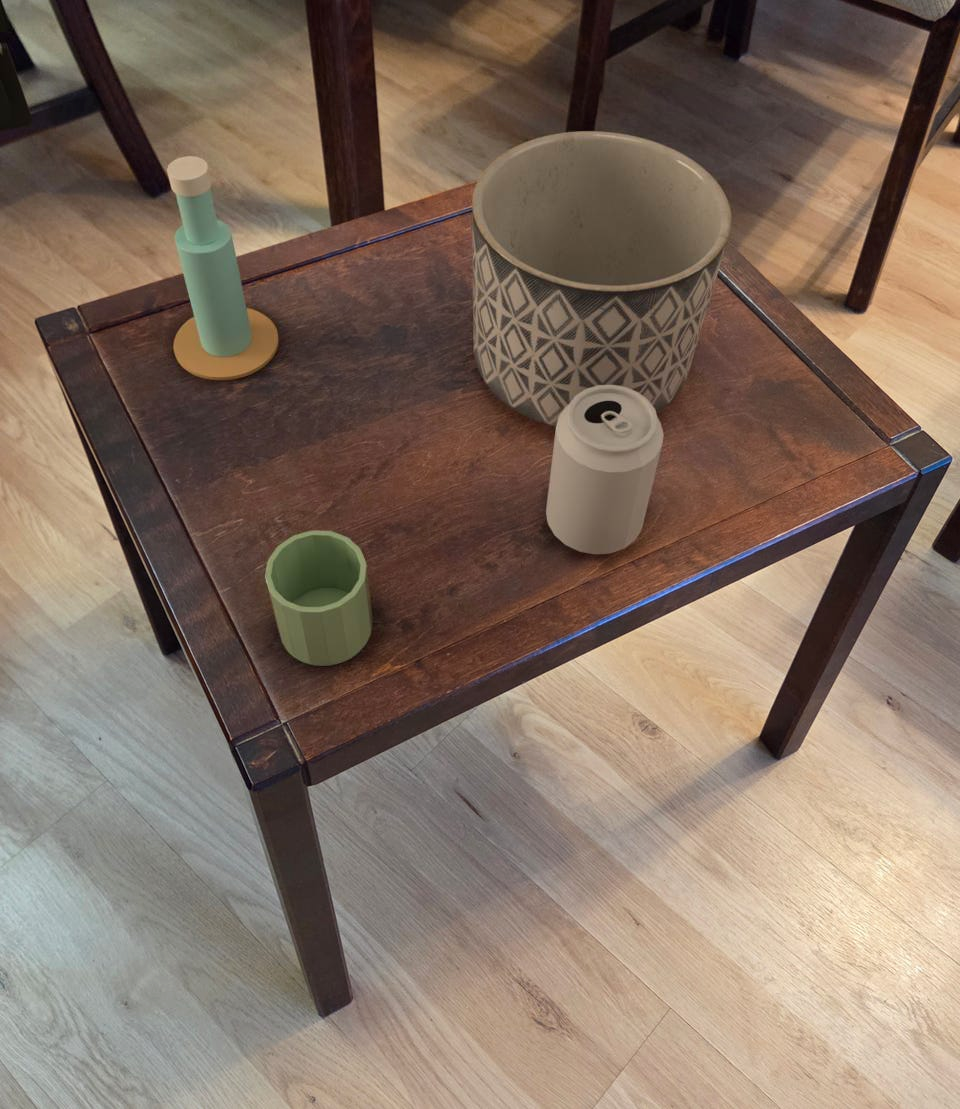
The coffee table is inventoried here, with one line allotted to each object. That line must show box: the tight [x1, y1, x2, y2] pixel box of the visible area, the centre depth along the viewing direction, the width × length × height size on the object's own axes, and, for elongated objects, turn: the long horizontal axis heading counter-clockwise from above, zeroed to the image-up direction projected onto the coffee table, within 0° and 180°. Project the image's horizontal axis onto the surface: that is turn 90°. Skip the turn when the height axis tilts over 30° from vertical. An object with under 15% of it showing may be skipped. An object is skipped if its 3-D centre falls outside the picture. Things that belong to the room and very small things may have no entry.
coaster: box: [173, 307, 280, 381], centre depth 92 cm, size 9×9×1 cm
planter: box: [471, 130, 732, 428], centre depth 85 cm, size 19×19×16 cm
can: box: [545, 385, 665, 555], centre depth 77 cm, size 8×8×12 cm
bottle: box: [166, 155, 252, 357], centre depth 85 cm, size 4×4×17 cm
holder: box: [264, 529, 373, 667], centre depth 73 cm, size 7×7×7 cm
